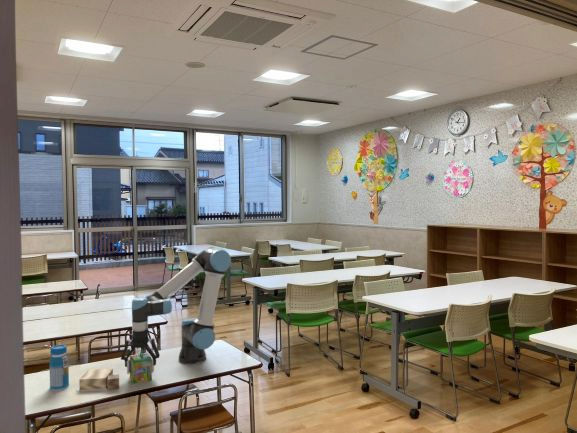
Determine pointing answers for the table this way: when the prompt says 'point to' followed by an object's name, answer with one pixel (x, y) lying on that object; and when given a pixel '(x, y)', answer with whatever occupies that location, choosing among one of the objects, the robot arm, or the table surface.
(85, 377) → the base block
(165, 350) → the table surface
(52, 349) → the beverage bottle
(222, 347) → the table surface
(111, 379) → the walnut cube
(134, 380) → the green juice carton
